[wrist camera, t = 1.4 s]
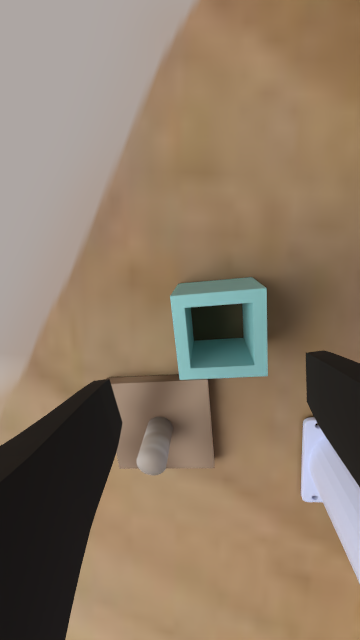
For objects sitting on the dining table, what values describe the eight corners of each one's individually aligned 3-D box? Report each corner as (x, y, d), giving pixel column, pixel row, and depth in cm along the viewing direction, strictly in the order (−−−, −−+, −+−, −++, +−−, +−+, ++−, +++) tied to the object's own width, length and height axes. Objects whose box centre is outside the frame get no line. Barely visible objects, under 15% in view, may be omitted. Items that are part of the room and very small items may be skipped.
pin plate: (207, 373, 20) (207, 408, 16) (214, 458, 22) (216, 510, 18) (107, 377, 21) (81, 412, 17) (123, 459, 23) (104, 508, 19)
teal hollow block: (251, 277, 18) (266, 288, 13) (253, 345, 19) (267, 376, 15) (178, 283, 18) (170, 296, 14) (185, 349, 20) (179, 379, 15)
